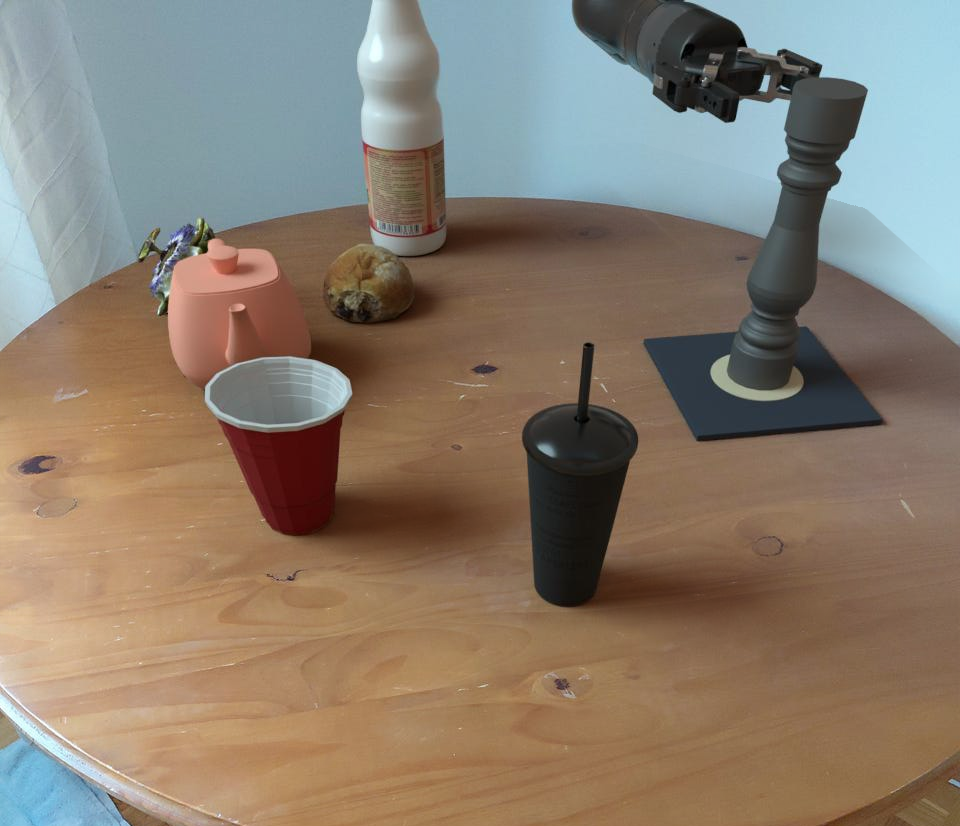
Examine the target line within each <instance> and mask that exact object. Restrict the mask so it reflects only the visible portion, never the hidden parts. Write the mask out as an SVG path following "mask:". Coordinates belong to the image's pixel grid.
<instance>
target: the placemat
mask: <svg viewBox="0 0 960 826" xmlns="http://www.w3.org/2000/svg"><path fill="white" fill-rule="evenodd" d="M799 328H800V335H799V338H798V340H797V343H798V345H799V348H798V351H797V355H796V358H795V362H794V365H793V369H792V373H791V376H790V379H789V383H788V384H786V385H785V386H784V387H782V388H779V389H775V390H754V389H749V388H745V387H743V386H741V385H739V384H736V383H735V382H734V381H733V380H731V379H730V378H729V376H728V374H727V367H728V362H729V358H730V353H731V349H732V344H733V340H734V338H735V335H736V334H737V333H739V332H740V331H739V330H738V331H729V332H715V333H714V332H713V333H704V334H703V333H702V334H689V335H676V336H663V337H651V338H649V337H648V338H643V346H644V348H645V350H646V351H647V353H648V355H649V357H650V358H651V361H652V362H653V365H654V366H655V368H656V370H657V371H658V374H659V375H660V377H661V379H662V380H663V382H664V385H665V386H666V388H667V390H668V392H669V393H670V395H671V397H672V399H673V400H674V402H675V404H676V406H677V408H678V409H679V412H680V413H681V416H682V417H683V418H684V421H685V422H686V424H687V426H688V428H689V430H690V432H691V433H692V435H693V437H694V438H695V441H696V442H700V441H711V440H712V441H713V440H723V439H724V440H725V439H735V438H744V437H745V438H746V437H755V436H767V435H779V434H790V433H800V432H813V431H822V430H823V431H824V430H835V429H845V428H856V427H857V428H858V427H866V426H879V425H882V423H883V420H884V419H883V417H882V416H881V415H880V414H879V413H878V411H877V410H876V409H875V408H874V406H873V405H872V404H871V403H870V401H869V400H868V399H867V398H866V397H865V396H864V394H863V393H862V391H861V390H859V388H858V387H857V386H856V384H855V383H854V382H853V381H852V379H850V377H849V375H848V374H847V373H845V371H844V369H842V367H841V366H840V365H839V363H837V361H836V360H835V359H834V357H832V355H831V353H829V351H828V350H827V349H826V348H825V346H824V345H823V344H822V343H821V342H820V340H819V339H818V338H817V337H816V336H815V334H814V333H813V332H812V331H811V330H810V328H809V327H808V326H799Z"/></svg>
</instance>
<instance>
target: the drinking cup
mask: <svg viewBox="0 0 960 826" xmlns="http://www.w3.org/2000/svg"><path fill="white" fill-rule="evenodd" d="M594 355H595V344H594V343H593V342H589V341H587V342H585V343H583V344H582V355H581V365H580V375H579V376H580V377H579V378H580V379H579V387H578V388H579V389H578V390H579V391H578V398H577V399H578V400H577V402H571V403H560V404H556V405H552V406H549V407H545V408H542V409H541V410H539V411H537V412H536V413H534V414H533V415H532V416H531V417H530V418H528V420H526V422H525V424H524V426H523V428H522V431H521V432H522V433H521V442H522V446H523V448H524V450H525V452H526V461H527V462H526V465H527V483H528V500H529V501H528V502H529V516H530V517H529V518H530V533H531V552H532V568H533V586H534V588H535V591H536V593H537V595H538V596H539V597H540V598H542V599H543V601H546V602H548V603H549V604H552V605H555V606H559V607H576V606H580V605H583V604H586V603H587V602H589V601H590V600H591V599H592V598H593V597H594V596H595V594H596V592H597V589H598V585H599V581H600V578H601V574H602V570H603V566H604V562H605V558H606V556H607V555H606V554H607V551H608V547H609V543H610V540H611V536H612V532H613V528H614V524H615V521H616V516H617V513H618V508H619V505H620V500H621V497H622V494H623V490H624V485H625V482H626V477H627V474H628V470H629V466H630V462H631V460H632V459H633V457H634V456H635V455H636V454H637V451H638V447H639V435H638V431H637V429H636V427H635V426H634V425H633V423H632V422H631V421H630V420H629V419H628V417H627V418H626V417H625V416H624V415H623V414H620V413H619V412H617V411H615V410H613V409H610V408H607V407H605V406H601V405H596V404H592V403H590V393H591V386H592V385H591V384H592V375H593V374H592V373H593V365H594V364H593V363H594Z"/></svg>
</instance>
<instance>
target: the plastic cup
mask: <svg viewBox="0 0 960 826" xmlns="http://www.w3.org/2000/svg"><path fill="white" fill-rule="evenodd" d="M352 397H353V390H352V384H351V381H350V379H349V378H348V377H347V376H346V375H345V374H343V372H341V371H340V370H339V369H338V368H337V367H334V366H332V365H329V364H327V363H324V362H322V361H319V360H316V359H311V358H308V359H304V358H297V357H265V358H259V359H254V360H250V361H246V362H241V363H237V364H235V365H233V366H231V367H229V368H227V369H225V370H223V371H221V372H219V373H217V374H216V375H215V376H214V377H213V378H212V379H211V381H210V382H209V383H208V384H207V385H206V386H205V389H204V402H205V404H206V406H207V407H208V409H209V410H210V411H211V412H212V413H213V414H214V416H215V417H216V419H217V422H218V424H219V425H220V427H221V429H222V433H223V434H224V437H225V438H226V439H227V441H228V443H229V446H230V448H231V450H232V452H233V455H234V458H235V459H236V462H237V464H238V466H239V468H240V471H241V474H242V475H243V477H244V480H245V482H246V485H247V487H248V490H249V492H250V493H251V494H252V496H253V498H254V500H255V502H256V505H257V507H258V509H259V512H260V514H261V516H262V517H263V519H265V522H266V523H267V524H268V526H269V527H270V528H271V529H272V530H274V531H276V532H278V533H280V534H283V535H291V536H298V535H306V534H311V533H313V532H316V531H318V530H320V529H323V527H325V526H326V525H327V524H328V523H329V522H330V521H331V519H332V517H333V515H334V510H335V508H336V489H337V482H338V474H339V459H340V446H341V445H340V444H341V429H342V427H343V419H344V416H345V412H346V407H347V406H348V404H349V402H350V401H351V399H352Z"/></svg>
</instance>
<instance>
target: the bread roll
mask: <svg viewBox="0 0 960 826" xmlns="http://www.w3.org/2000/svg"><path fill="white" fill-rule="evenodd" d="M414 286H415V285H414V281H413V277H412V274H411V272H410V269H409V267H407V266H406V264H405V263H404V262H403V260H402V259H401V258H400V257H398V255H395V254H394V253H392V252H391V251H390V250H388V249H386V248H383V247H381V246H377V245H374V244H368V243H359V244H357V245H355V246H352V247H351V248H348V249H347V250H346V251H344V252H342V253H341V254H340V255H339V256H337V258H336V260H334V261H333V262H332V263H331V264H330V267H329V268H328V270H327V271H326V273H325V276H324V280H323V289H322V299H323V301H324V302H323V303H324V304H325V306H326V308H327V309H328V310H329V311H330V313H332V315H334V316H336V315H337V316H336V317H338V316H339V317H338V318H340V317H341V318H340V319H342V318H343V319H342V320H344V319H345V320H344V321H349V322H351V323H354V322H360V323H359V324H368V322H372V323H379V322H383V321H388V320H394V319H396V318H398V316H399V315H400V314H402V313H403V312H405V311H407V310H408V309H409V307H410V306H411V305H412V303H413V301H414V293H415V287H414ZM387 319H388V320H387ZM382 320H383V321H382ZM378 321H379V322H378Z"/></svg>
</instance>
